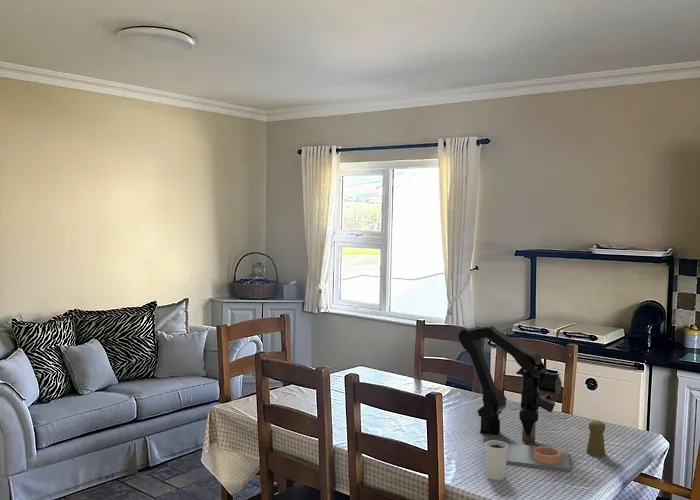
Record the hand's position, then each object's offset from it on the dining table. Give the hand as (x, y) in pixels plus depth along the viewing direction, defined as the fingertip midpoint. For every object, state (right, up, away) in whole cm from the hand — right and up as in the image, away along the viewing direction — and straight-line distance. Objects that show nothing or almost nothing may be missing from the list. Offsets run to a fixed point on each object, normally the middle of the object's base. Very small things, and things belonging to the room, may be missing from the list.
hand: (528, 431), depth 224 cm
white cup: (-19, -5, -30) cm, 35 cm away
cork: (+20, -5, -10) cm, 23 cm away
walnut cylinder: (0, -4, 0) cm, 4 cm away
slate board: (-1, -4, -15) cm, 16 cm away
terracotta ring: (+1, -5, -18) cm, 18 cm away
